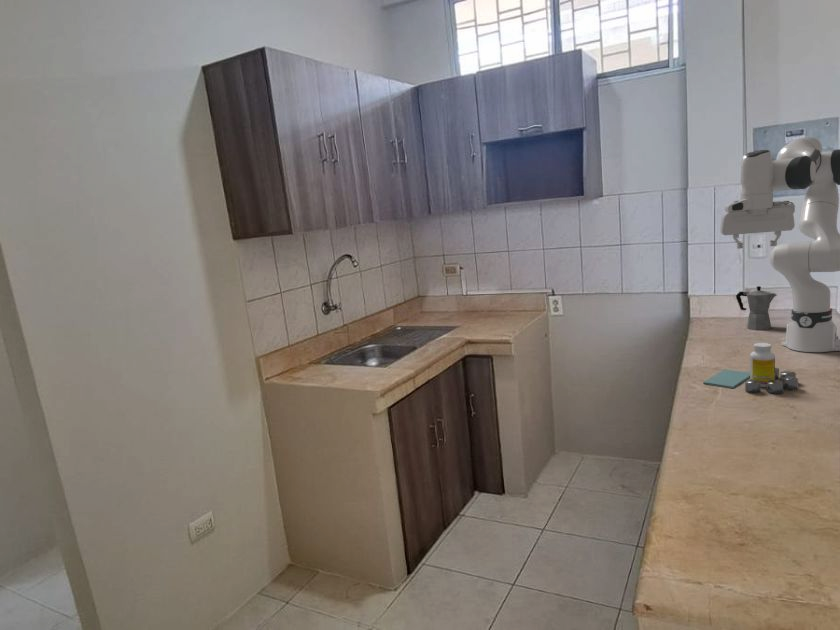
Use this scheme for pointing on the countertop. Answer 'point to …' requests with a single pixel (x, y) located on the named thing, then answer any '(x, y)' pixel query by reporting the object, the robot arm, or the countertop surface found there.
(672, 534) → the countertop surface
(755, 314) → the coffeepot
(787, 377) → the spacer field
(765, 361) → the supplement bottle
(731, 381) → the mat
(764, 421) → the countertop surface
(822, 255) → the robot arm
